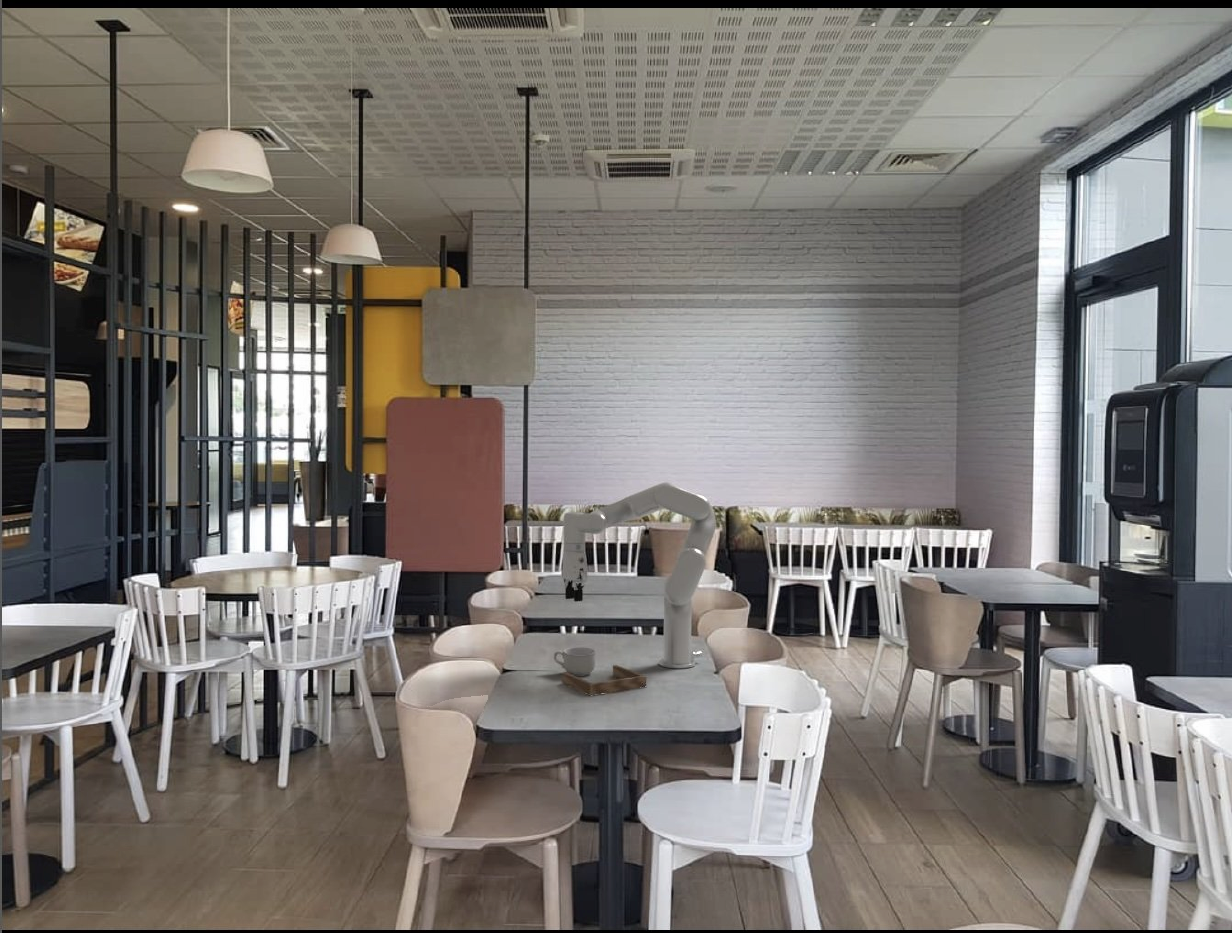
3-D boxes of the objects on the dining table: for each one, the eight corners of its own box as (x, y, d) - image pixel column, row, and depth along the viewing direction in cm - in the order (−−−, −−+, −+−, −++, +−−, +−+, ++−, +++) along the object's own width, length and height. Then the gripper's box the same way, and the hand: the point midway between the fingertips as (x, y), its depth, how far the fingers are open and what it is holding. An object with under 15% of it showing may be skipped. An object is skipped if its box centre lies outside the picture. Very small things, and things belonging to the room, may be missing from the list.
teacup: (599, 671, 328) (599, 647, 327) (590, 679, 317) (590, 654, 317) (560, 668, 331) (560, 645, 331) (549, 675, 321) (549, 651, 321)
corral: (615, 675, 322) (616, 665, 322) (646, 687, 307) (646, 676, 307) (562, 683, 311) (562, 672, 311) (590, 696, 296) (590, 684, 296)
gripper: (596, 549, 333) (595, 602, 333) (571, 544, 347) (571, 595, 348) (577, 550, 329) (577, 604, 329) (552, 546, 343) (552, 597, 344)
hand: (573, 599), depth 338 cm, fingers open, 5 cm apart
